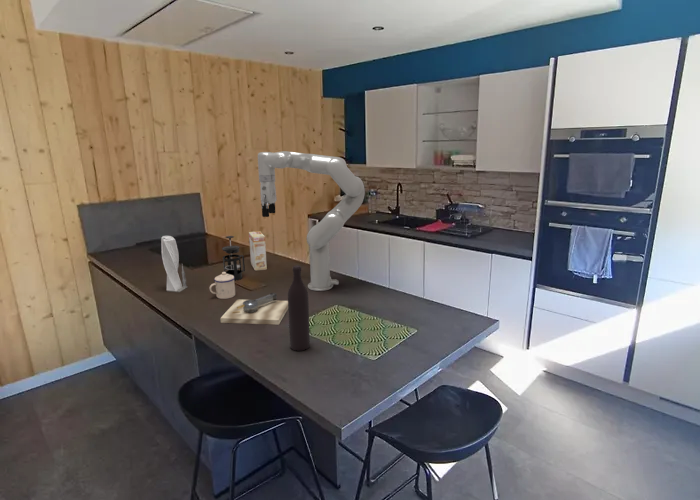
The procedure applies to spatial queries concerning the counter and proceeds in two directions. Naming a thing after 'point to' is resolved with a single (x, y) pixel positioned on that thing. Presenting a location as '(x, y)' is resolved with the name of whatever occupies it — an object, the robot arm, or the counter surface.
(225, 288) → the teacup with lid
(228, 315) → the wooden cutting board
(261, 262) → the coffeecake box
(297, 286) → the wine bottle
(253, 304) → the lever
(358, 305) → the counter surface
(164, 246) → the skyscraper
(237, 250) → the french press
